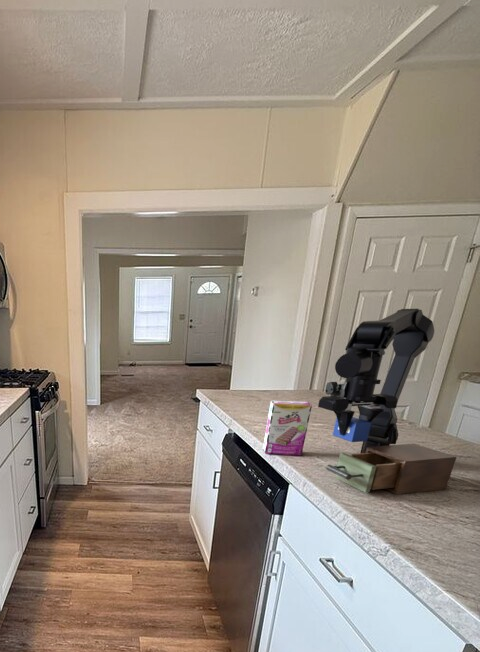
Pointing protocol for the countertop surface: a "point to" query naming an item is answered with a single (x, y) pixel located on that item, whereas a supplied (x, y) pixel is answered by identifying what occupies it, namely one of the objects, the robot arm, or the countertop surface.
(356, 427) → the block
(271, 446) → the candy bar box
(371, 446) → the robot arm
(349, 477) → the drawer
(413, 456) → the cabinet
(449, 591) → the countertop surface
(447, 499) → the countertop surface
